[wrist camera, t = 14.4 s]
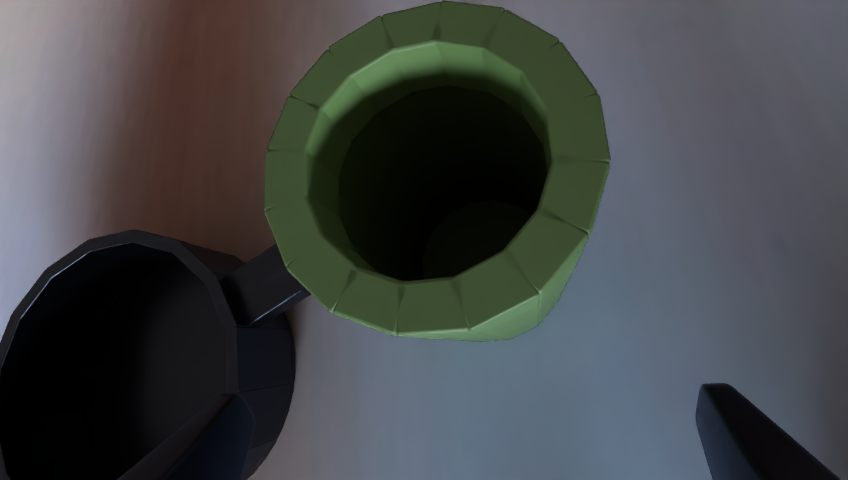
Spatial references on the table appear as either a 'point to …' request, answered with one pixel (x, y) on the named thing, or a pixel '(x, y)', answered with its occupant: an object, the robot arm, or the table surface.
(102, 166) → the table surface
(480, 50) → the crock
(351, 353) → the table surface
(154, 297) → the pan
